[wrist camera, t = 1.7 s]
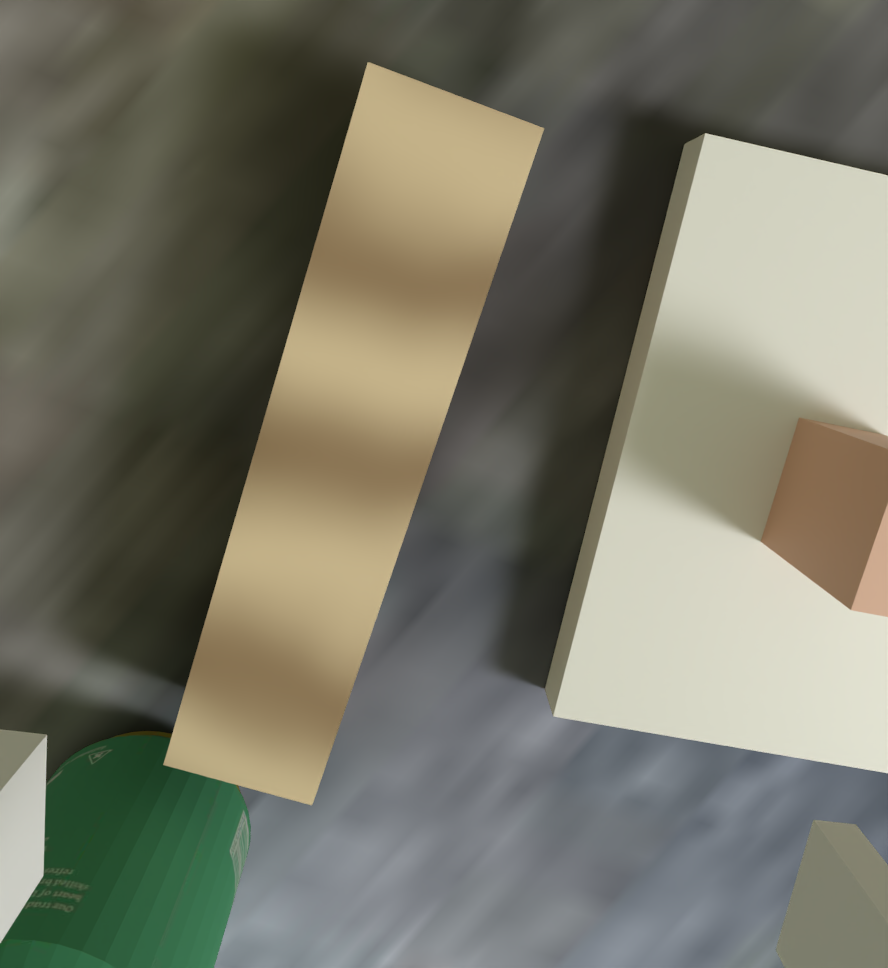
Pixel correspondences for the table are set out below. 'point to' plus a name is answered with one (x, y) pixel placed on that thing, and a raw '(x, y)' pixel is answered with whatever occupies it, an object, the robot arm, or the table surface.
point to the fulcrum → (746, 474)
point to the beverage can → (132, 863)
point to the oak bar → (350, 428)
